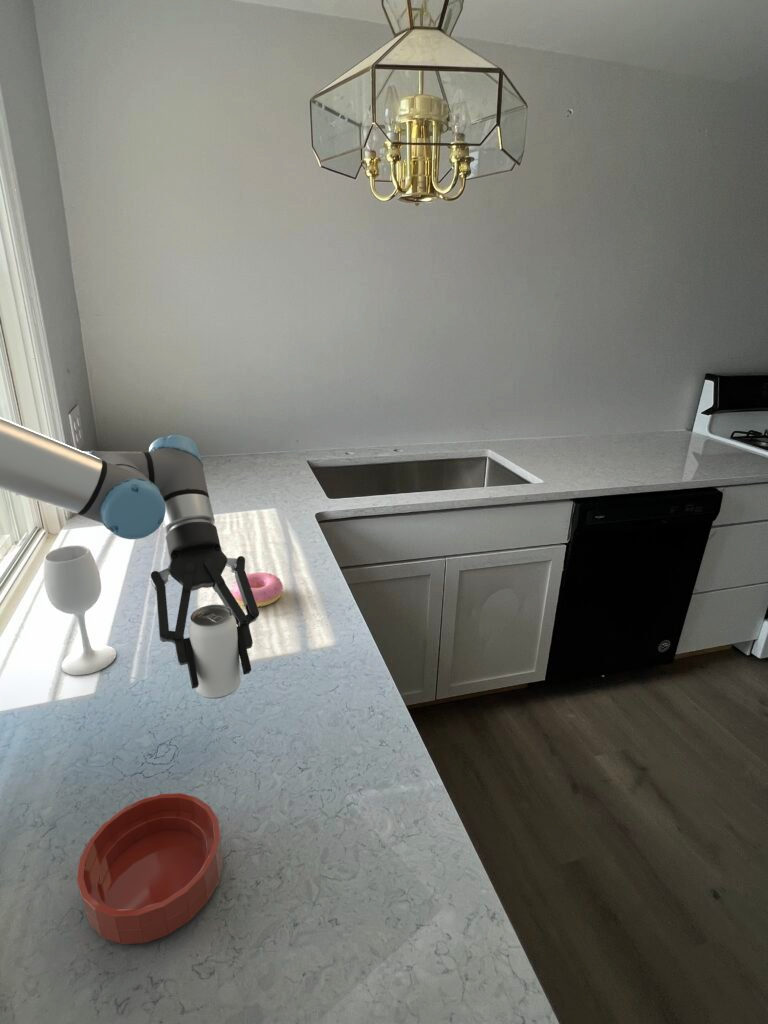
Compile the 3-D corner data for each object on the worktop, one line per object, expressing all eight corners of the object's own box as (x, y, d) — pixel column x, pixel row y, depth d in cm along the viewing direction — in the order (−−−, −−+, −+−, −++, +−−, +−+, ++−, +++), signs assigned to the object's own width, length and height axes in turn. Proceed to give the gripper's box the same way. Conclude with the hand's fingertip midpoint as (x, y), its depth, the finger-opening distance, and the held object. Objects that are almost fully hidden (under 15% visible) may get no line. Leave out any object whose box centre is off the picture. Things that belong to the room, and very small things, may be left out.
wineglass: (68, 682, 93) (42, 570, 86) (57, 657, 99) (32, 551, 92) (122, 662, 98) (102, 555, 91) (108, 640, 105) (89, 538, 97)
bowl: (72, 870, 63) (63, 838, 61) (195, 803, 71) (190, 774, 70) (106, 982, 53) (97, 948, 51) (244, 889, 61) (241, 857, 59)
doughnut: (282, 583, 127) (281, 566, 125) (284, 607, 117) (283, 590, 115) (232, 587, 124) (231, 570, 123) (231, 612, 114) (229, 595, 113)
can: (219, 666, 86) (212, 598, 82) (250, 681, 83) (245, 611, 79) (185, 689, 81) (177, 618, 76) (217, 706, 78) (210, 632, 73)
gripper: (250, 530, 93) (284, 666, 85) (122, 550, 84) (147, 703, 76) (256, 510, 86) (294, 655, 79) (119, 530, 78) (146, 694, 70)
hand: (221, 678), depth 77 cm, fingers closed on can, 6 cm apart
